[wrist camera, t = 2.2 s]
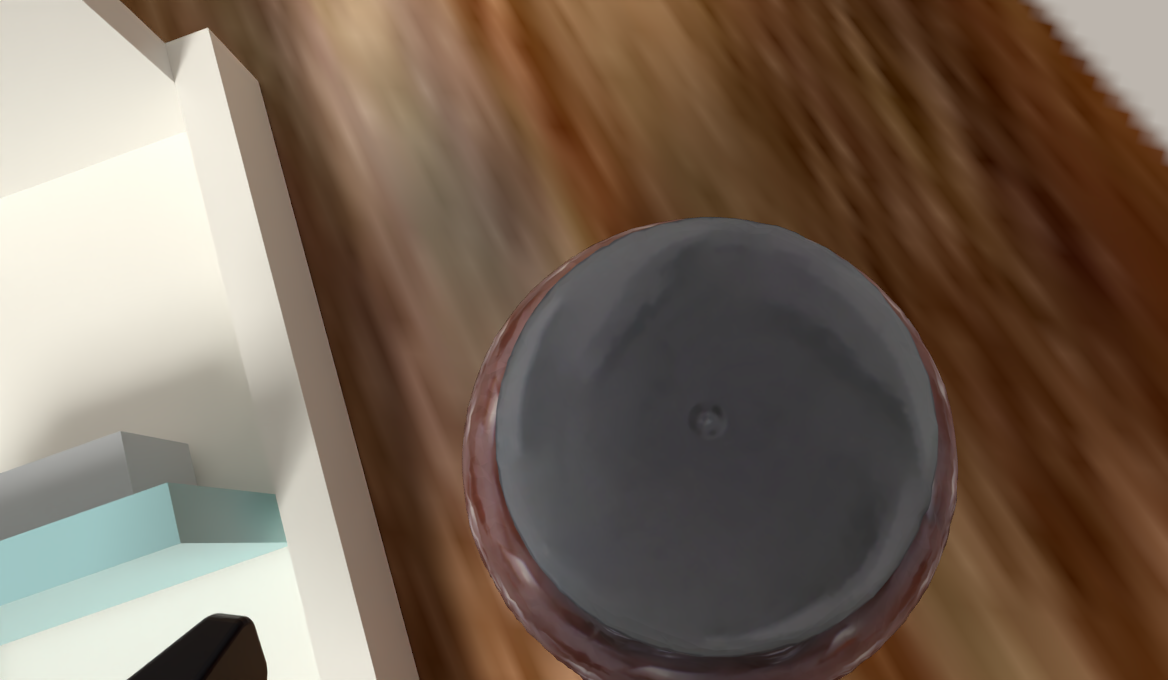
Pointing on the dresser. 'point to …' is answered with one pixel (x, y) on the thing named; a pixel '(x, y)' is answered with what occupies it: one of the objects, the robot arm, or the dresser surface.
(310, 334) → the lane
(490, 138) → the dresser surface
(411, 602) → the dresser surface
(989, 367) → the dresser surface
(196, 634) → the robot arm
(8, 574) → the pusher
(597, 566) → the supplement bottle
